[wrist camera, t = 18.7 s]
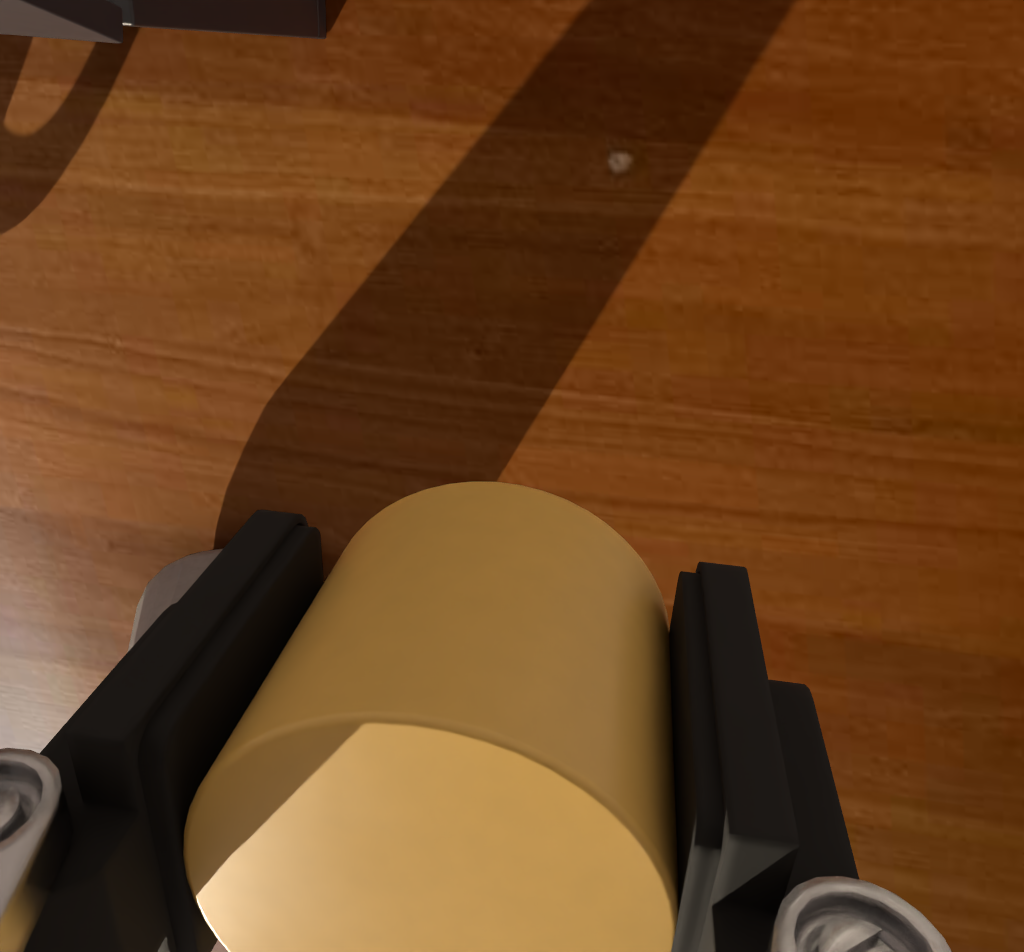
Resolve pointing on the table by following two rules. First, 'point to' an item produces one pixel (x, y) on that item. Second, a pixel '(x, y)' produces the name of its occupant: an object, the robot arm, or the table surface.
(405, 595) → the cylinder
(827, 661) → the table surface
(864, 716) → the table surface
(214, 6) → the dark grey storage bin
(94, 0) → the chamber lid
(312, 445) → the table surface
